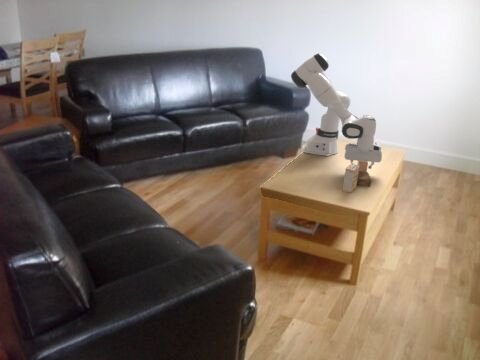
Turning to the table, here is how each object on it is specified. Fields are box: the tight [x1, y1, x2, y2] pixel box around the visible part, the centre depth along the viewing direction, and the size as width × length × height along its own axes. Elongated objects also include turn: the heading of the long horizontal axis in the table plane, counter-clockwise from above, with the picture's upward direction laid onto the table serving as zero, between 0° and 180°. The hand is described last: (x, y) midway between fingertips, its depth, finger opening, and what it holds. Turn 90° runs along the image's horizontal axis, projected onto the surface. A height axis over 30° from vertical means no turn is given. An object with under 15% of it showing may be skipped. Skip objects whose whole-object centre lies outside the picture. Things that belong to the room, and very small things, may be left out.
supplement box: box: [342, 163, 359, 194], centre depth 253 cm, size 8×5×13 cm, turn 148°
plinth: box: [356, 171, 372, 187], centre depth 265 cm, size 11×11×4 cm
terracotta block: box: [356, 161, 369, 172], centre depth 276 cm, size 5×5×7 cm
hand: (361, 167), depth 276 cm, fingers open, 8 cm apart
